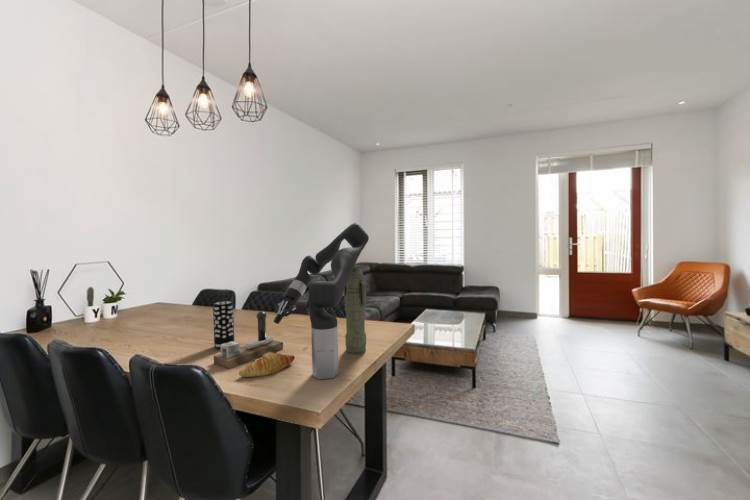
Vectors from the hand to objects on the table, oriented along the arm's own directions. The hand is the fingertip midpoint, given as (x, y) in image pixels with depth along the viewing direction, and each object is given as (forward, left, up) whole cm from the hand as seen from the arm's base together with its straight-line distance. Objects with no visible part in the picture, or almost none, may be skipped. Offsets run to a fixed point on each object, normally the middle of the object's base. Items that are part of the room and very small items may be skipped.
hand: (275, 322), depth 149 cm
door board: (-10, +9, -11) cm, 17 cm away
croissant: (-27, 0, -11) cm, 29 cm away
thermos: (-14, -34, -11) cm, 39 cm away
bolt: (-6, +6, -8) cm, 11 cm away
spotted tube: (+6, +23, -11) cm, 27 cm away
